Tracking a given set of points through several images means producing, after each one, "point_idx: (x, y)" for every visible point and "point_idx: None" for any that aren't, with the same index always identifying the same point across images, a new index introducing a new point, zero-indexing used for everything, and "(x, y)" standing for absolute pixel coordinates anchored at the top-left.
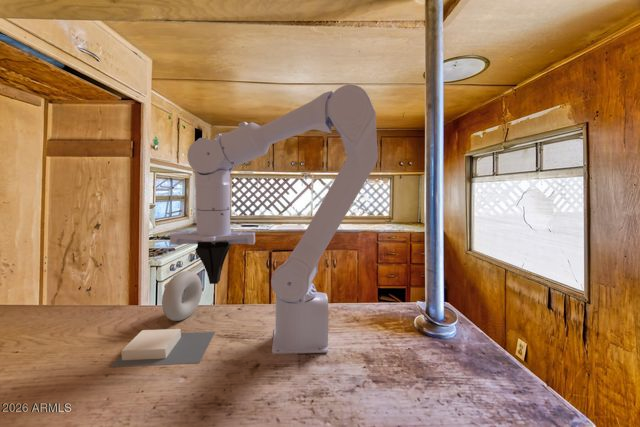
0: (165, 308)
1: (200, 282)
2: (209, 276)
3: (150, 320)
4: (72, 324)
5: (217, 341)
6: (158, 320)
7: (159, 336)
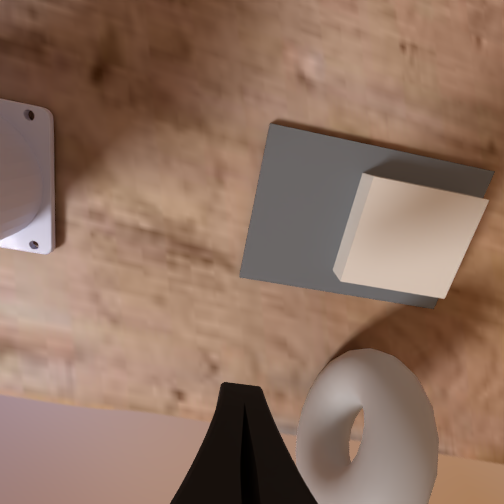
0: (403, 365)
1: None
2: (264, 416)
3: None
4: None
5: (229, 233)
6: None
7: (395, 252)
